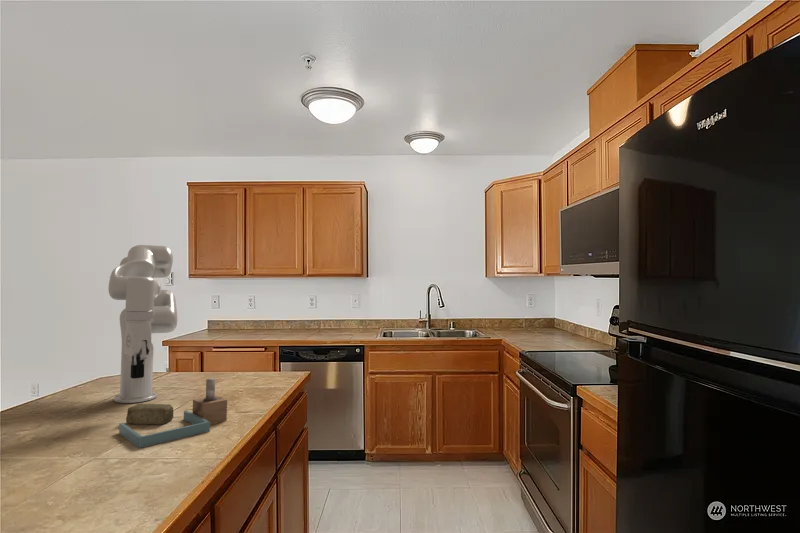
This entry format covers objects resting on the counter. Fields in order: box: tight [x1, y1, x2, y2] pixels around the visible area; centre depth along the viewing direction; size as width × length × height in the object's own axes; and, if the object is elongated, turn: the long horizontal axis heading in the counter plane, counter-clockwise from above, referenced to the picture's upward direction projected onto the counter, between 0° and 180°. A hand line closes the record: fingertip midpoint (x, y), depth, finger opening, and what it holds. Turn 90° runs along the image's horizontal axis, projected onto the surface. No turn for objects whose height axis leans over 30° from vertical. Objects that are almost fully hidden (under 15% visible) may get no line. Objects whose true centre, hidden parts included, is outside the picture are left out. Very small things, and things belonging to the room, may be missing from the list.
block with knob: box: [192, 377, 228, 425], centre depth 133 cm, size 7×7×12 cm
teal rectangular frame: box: [118, 410, 211, 449], centre depth 122 cm, size 15×18×2 cm
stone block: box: [125, 403, 174, 426], centre depth 130 cm, size 6×12×5 cm, turn 89°
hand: (137, 377), depth 137 cm, fingers closed
